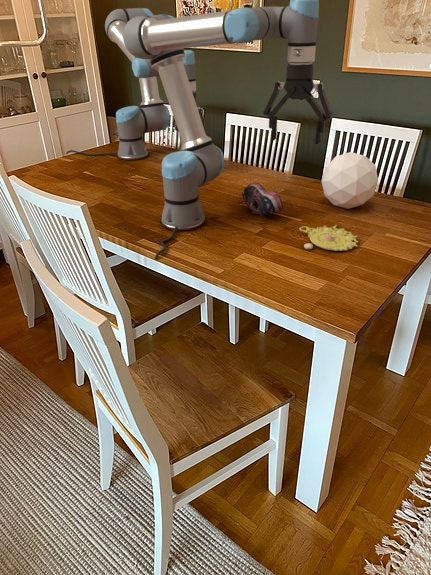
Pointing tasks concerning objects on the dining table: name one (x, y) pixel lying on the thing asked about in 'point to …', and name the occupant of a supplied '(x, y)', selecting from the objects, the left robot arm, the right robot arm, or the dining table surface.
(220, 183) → the dining table surface
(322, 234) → the decorative object
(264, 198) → the athletic shoe
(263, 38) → the right robot arm
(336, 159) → the sphere
